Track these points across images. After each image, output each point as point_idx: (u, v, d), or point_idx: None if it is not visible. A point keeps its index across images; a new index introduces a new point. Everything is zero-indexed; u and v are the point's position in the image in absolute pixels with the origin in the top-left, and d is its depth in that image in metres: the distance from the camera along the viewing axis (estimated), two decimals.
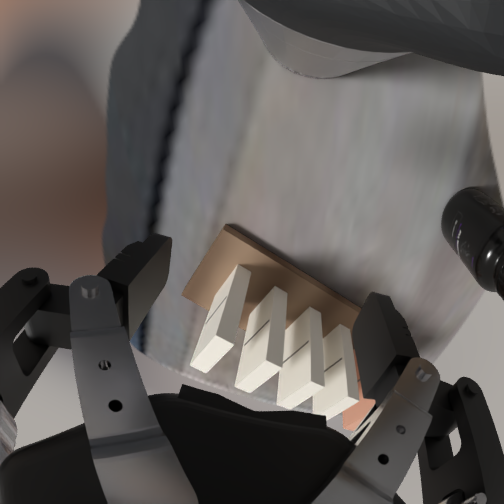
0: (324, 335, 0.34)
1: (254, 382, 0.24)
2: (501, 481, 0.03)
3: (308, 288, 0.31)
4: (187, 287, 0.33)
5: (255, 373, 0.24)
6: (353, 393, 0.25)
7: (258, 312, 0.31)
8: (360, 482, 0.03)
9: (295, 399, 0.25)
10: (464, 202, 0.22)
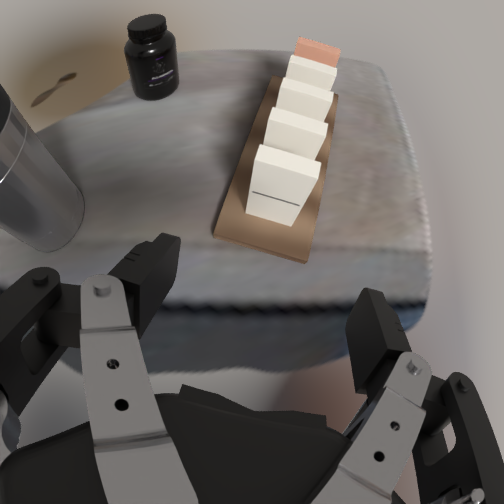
0: None
1: (307, 122, 0.24)
2: (498, 475, 0.04)
3: (248, 153, 0.34)
4: (294, 255, 0.31)
5: (292, 123, 0.24)
6: None
7: None
8: (360, 482, 0.03)
9: (314, 91, 0.25)
10: (139, 88, 0.34)
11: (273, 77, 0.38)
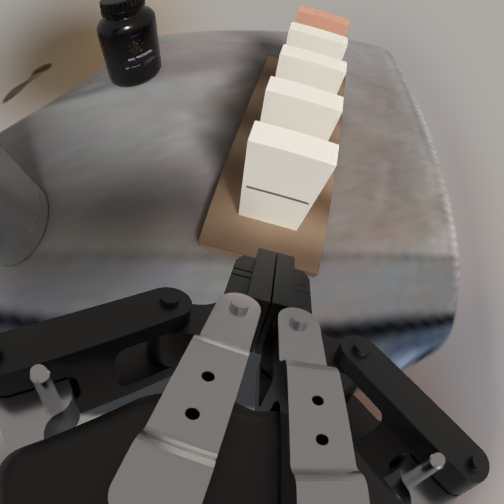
0: None
1: (317, 94, 0.17)
2: (446, 428, 0.05)
3: (241, 141, 0.27)
4: (301, 267, 0.24)
5: (297, 94, 0.17)
6: None
7: None
8: (360, 482, 0.03)
9: (322, 59, 0.19)
10: (114, 73, 0.28)
11: (269, 57, 0.32)
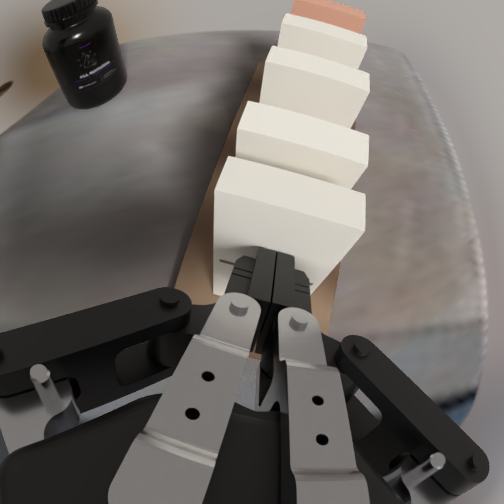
0: None
1: (325, 132, 0.11)
2: (446, 428, 0.05)
3: None
4: None
5: (292, 135, 0.10)
6: None
7: None
8: (360, 482, 0.03)
9: (333, 69, 0.12)
10: (67, 93, 0.21)
11: (261, 63, 0.25)
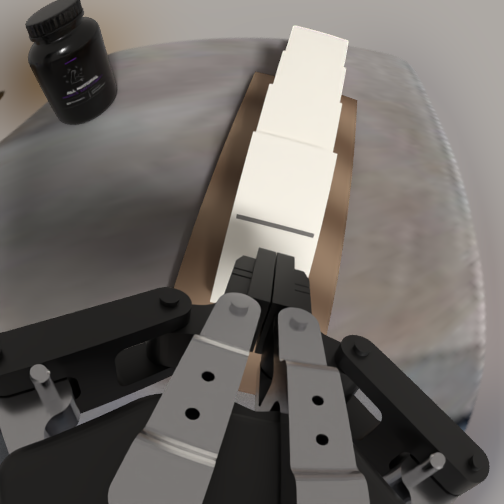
0: None
1: None
2: (446, 428, 0.05)
3: (209, 212, 0.20)
4: None
5: (298, 92, 0.18)
6: None
7: None
8: (360, 482, 0.03)
9: None
10: (55, 109, 0.21)
11: (256, 75, 0.25)
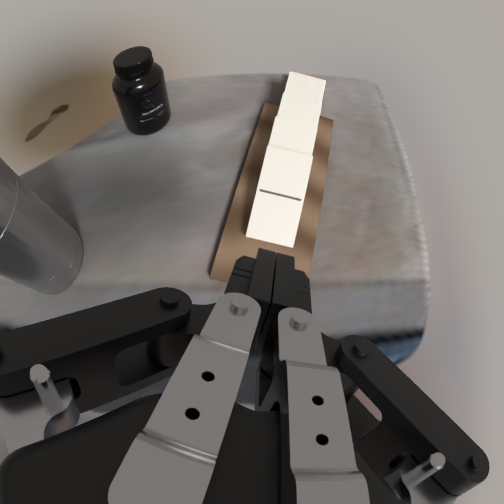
0: None
1: None
2: (446, 428, 0.05)
3: (241, 191, 0.34)
4: None
5: (292, 121, 0.32)
6: None
7: None
8: (360, 482, 0.03)
9: None
10: (130, 124, 0.35)
11: (266, 105, 0.39)
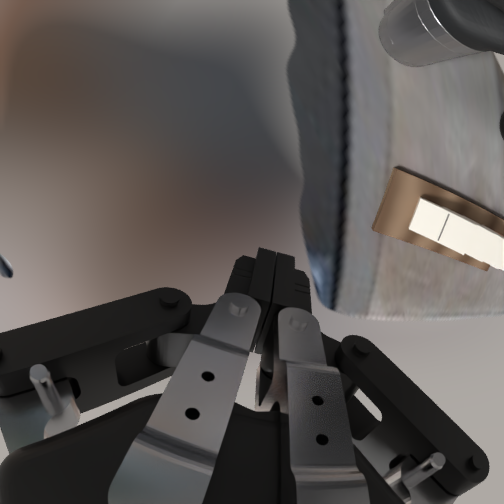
0: None
1: None
2: (446, 428, 0.05)
3: (450, 197, 0.39)
4: (377, 222, 0.42)
5: (489, 245, 0.36)
6: None
7: None
8: (360, 482, 0.03)
9: None
10: None
11: None
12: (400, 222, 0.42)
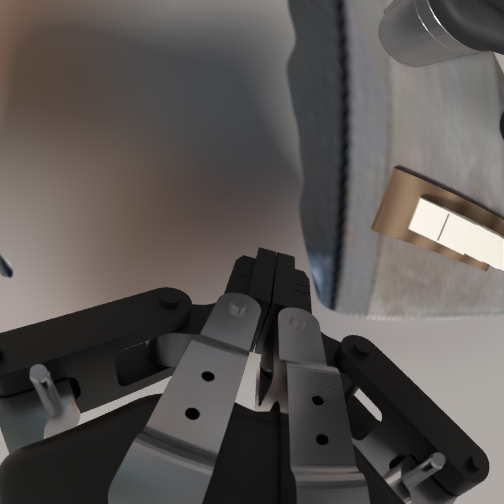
0: None
1: None
2: (446, 427, 0.05)
3: (450, 197, 0.39)
4: (377, 222, 0.42)
5: (489, 245, 0.36)
6: None
7: None
8: (360, 482, 0.03)
9: None
10: None
11: None
12: (399, 222, 0.42)
